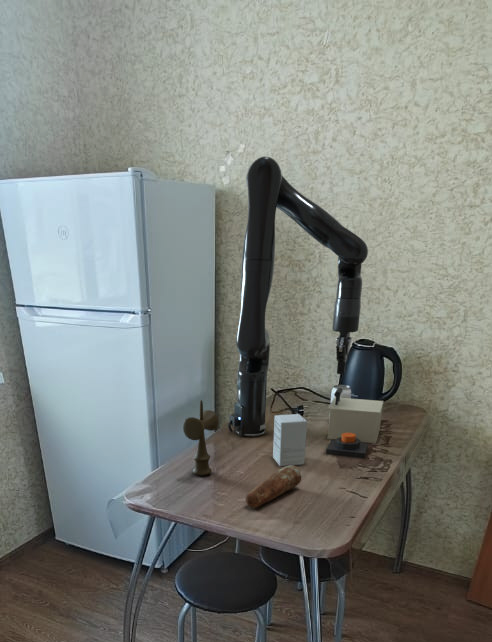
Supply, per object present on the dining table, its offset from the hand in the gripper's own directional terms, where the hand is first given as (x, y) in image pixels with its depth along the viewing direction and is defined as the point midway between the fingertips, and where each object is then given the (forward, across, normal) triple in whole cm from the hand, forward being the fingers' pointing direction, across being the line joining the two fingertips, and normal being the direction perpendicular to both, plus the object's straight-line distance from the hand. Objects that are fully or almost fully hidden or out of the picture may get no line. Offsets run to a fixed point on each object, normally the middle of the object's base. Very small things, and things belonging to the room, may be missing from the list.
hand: (340, 373), depth 177 cm
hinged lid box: (+19, +1, -6) cm, 20 cm away
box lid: (+10, +1, -6) cm, 12 cm away
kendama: (+19, -47, +28) cm, 58 cm away
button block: (+19, -16, -6) cm, 26 cm away
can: (+19, +13, +1) cm, 23 cm away
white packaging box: (+19, -30, +8) cm, 37 cm away
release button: (+16, -17, -6) cm, 24 cm away
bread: (+19, -56, +6) cm, 60 cm away
